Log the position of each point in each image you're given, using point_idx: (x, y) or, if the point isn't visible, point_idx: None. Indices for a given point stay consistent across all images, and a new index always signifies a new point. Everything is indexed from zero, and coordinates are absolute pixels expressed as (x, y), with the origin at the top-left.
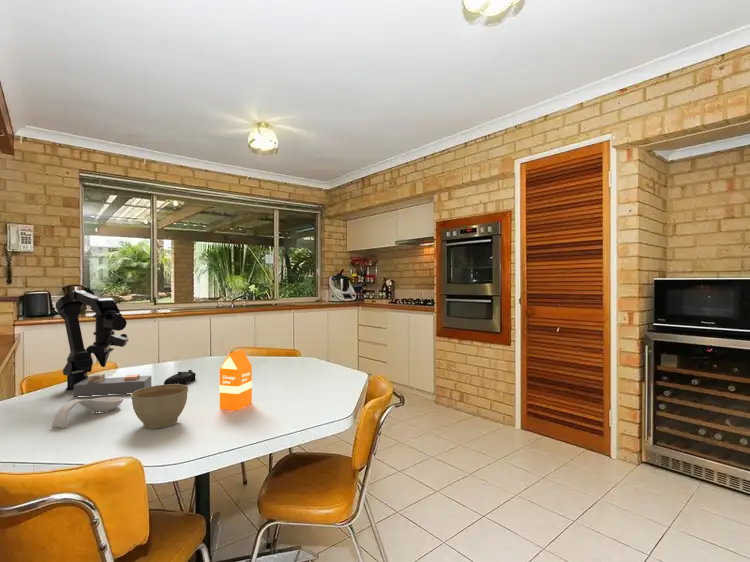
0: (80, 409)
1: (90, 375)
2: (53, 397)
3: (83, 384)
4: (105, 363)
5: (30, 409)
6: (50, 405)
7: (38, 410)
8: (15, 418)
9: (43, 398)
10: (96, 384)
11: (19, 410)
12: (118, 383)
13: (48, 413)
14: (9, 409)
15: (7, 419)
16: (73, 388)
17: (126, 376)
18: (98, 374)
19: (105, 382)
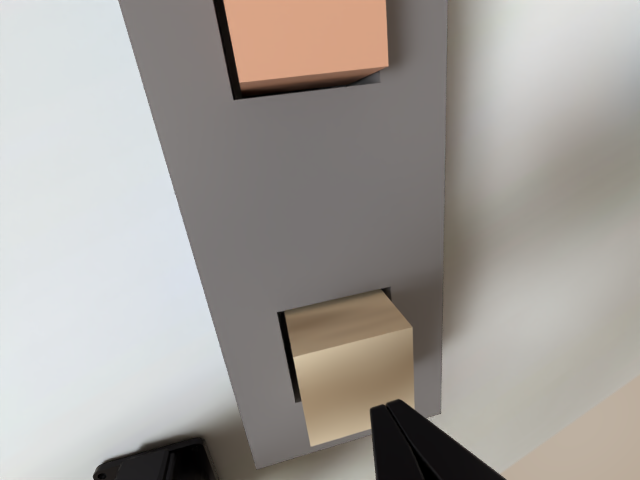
0: (629, 184)
1: (366, 428)
2: (365, 447)
3: (435, 369)
4: (420, 440)
5: (537, 396)
6: (504, 365)
7: (564, 358)
8: (634, 361)
9: (374, 471)
10: (439, 285)
11: (535, 421)
12: (440, 104)
13: (625, 290)
14: (509, 461)
15: (633, 377)
16: (215, 476)
17: (337, 59)
18: (333, 388)
19: (409, 241)
